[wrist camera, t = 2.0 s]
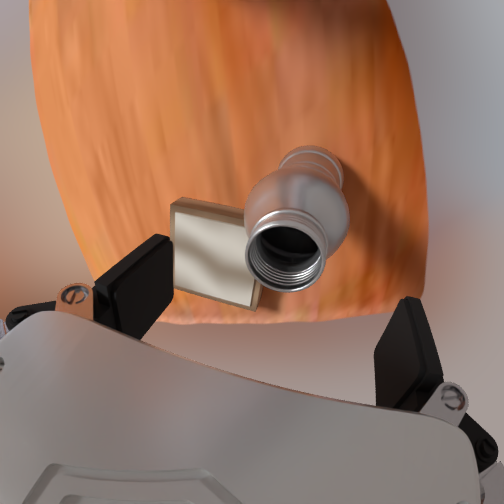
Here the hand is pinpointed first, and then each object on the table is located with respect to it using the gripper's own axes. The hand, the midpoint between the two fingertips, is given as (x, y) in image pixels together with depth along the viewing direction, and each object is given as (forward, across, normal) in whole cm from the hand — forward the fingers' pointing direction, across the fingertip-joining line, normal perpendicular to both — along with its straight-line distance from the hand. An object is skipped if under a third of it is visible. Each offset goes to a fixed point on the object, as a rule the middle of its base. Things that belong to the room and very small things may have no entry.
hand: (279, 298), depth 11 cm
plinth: (+22, +10, +11) cm, 27 cm away
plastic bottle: (+23, 0, -1) cm, 23 cm away
